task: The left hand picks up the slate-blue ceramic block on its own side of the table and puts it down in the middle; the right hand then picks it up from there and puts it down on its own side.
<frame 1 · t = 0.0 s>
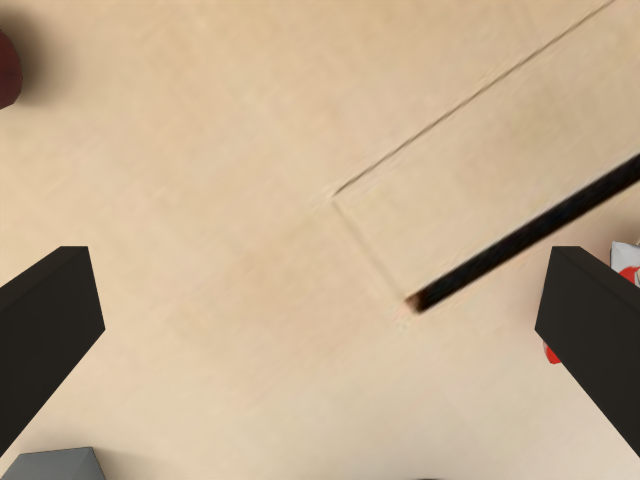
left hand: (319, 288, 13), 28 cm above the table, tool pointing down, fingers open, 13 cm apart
fish: (582, 273, 43), on the table
block: (66, 474, 54), on the table
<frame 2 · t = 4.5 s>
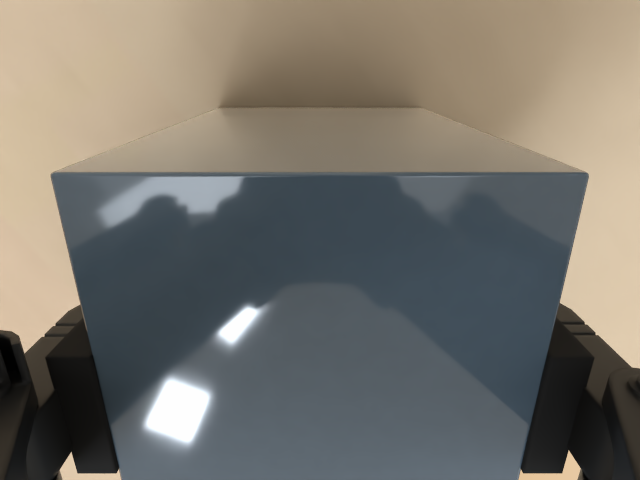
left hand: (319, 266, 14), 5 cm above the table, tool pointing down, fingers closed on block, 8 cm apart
block: (319, 218, 18), on the table, touching left hand
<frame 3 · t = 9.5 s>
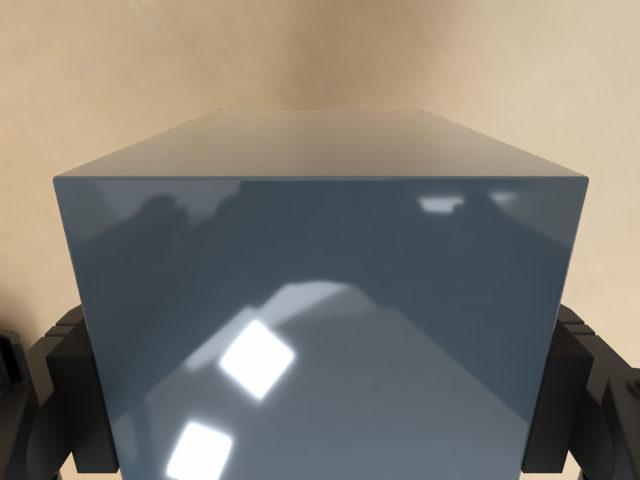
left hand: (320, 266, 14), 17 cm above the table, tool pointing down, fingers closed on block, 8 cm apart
block: (320, 219, 18), point 12 cm above the table, touching left hand
when the left hand's fingers open (6 cm above the table, at t = 14.7 s): block drops 2 cm, on the table.
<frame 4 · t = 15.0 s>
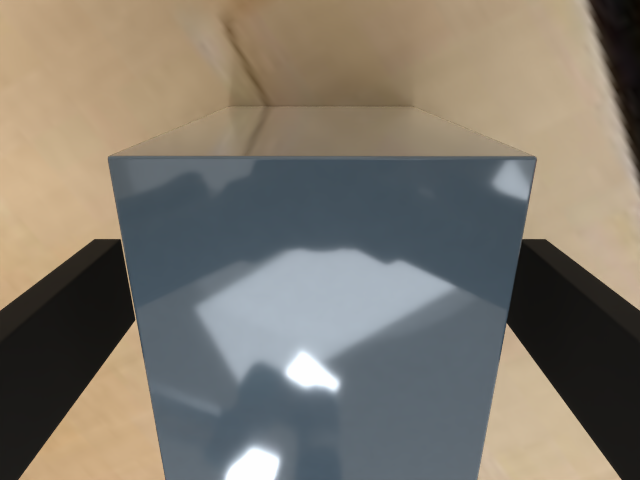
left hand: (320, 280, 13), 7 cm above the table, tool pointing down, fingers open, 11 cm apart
block: (321, 208, 20), on the table
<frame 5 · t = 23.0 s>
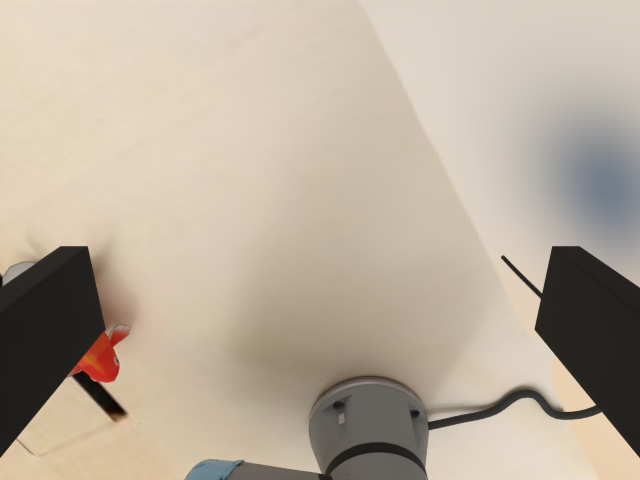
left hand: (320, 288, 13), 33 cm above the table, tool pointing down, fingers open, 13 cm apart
fish: (82, 303, 50), on the table
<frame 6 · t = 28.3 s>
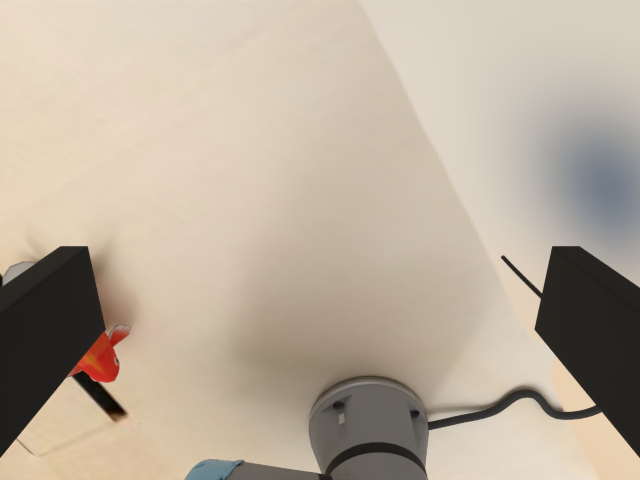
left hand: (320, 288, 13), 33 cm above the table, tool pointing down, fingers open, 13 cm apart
fish: (82, 303, 50), on the table
when the right hand's fingers open (6 cm above the table, at t = 33.4 s): block drops 2 cm, on the table.
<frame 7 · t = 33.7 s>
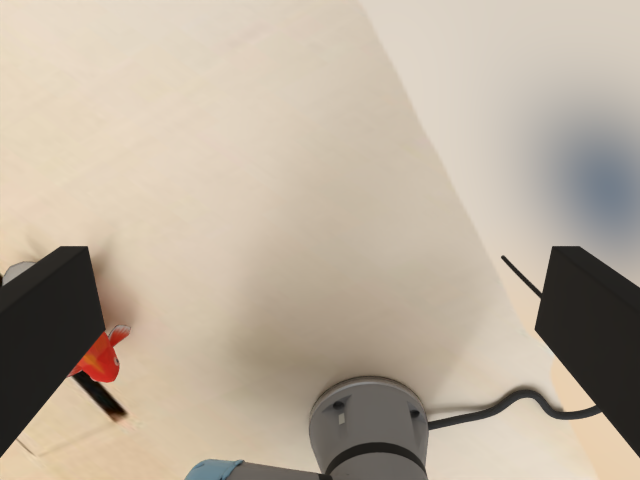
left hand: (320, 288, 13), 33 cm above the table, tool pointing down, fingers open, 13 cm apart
fish: (82, 303, 50), on the table
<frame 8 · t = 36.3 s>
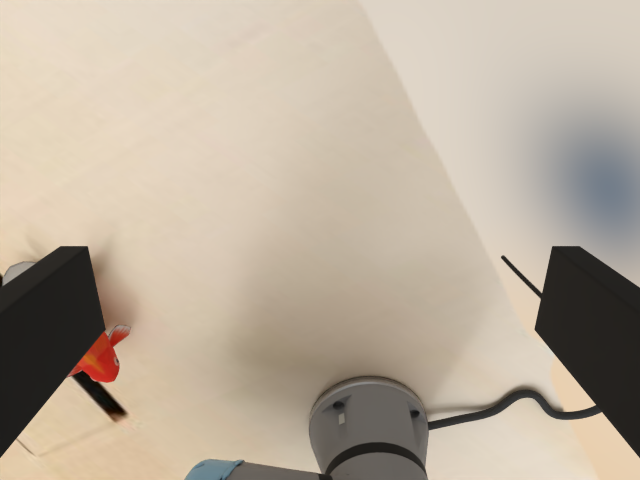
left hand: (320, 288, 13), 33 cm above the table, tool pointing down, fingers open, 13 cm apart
fish: (82, 303, 50), on the table
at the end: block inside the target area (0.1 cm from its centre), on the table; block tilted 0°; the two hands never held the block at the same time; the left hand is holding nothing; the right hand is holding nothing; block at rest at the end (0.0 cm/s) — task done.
